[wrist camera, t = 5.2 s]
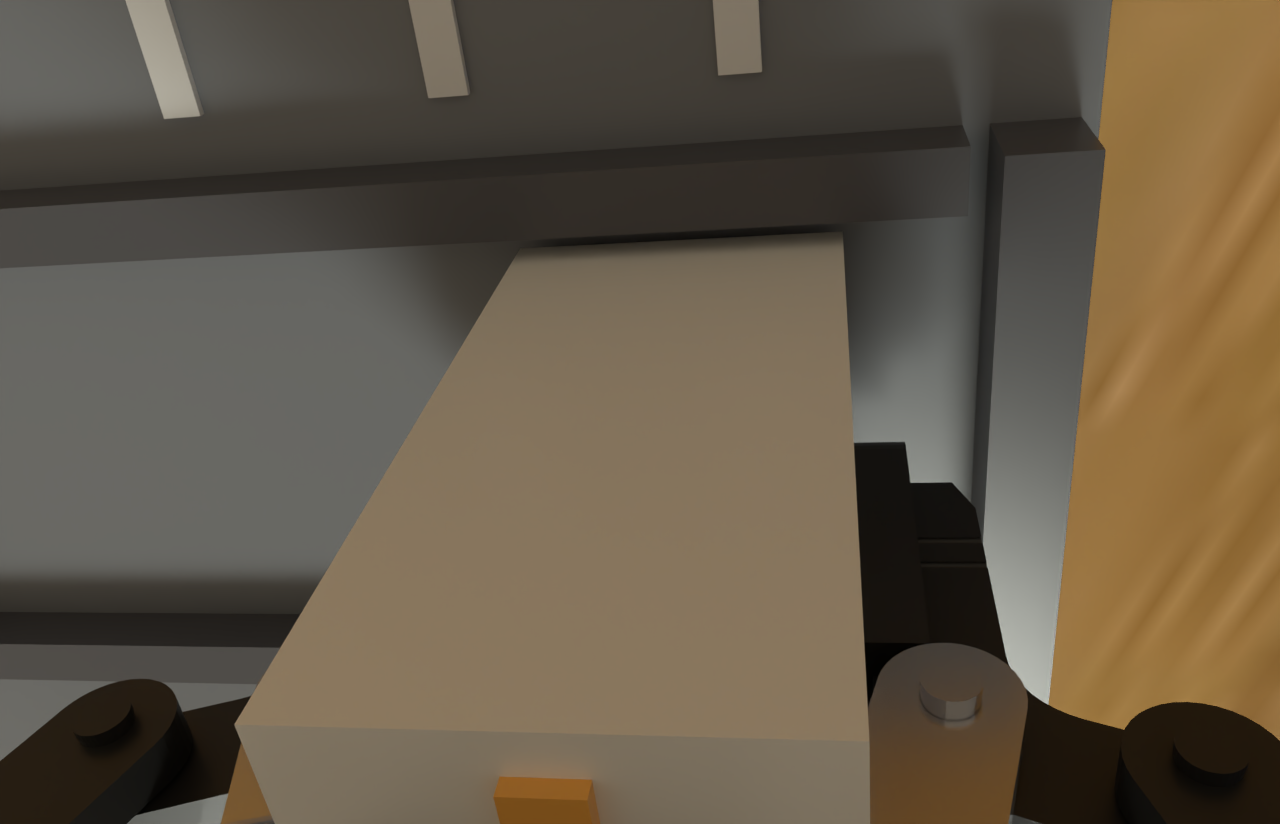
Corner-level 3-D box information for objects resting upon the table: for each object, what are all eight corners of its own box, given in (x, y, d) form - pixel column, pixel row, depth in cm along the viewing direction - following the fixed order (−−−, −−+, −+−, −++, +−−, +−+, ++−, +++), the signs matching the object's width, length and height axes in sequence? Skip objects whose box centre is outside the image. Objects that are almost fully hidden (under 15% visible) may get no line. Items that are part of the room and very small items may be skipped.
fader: (842, 231, 13) (871, 763, 6) (850, 616, 16) (875, 1265, 9) (520, 247, 14) (222, 743, 7) (583, 614, 17) (421, 1215, 10)
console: (1095, -287, 12) (1177, -299, 9) (1011, 743, 20) (1041, 898, 17) (-507, -82, 16) (-778, -48, 13) (-44, 715, 24) (-155, 839, 21)
